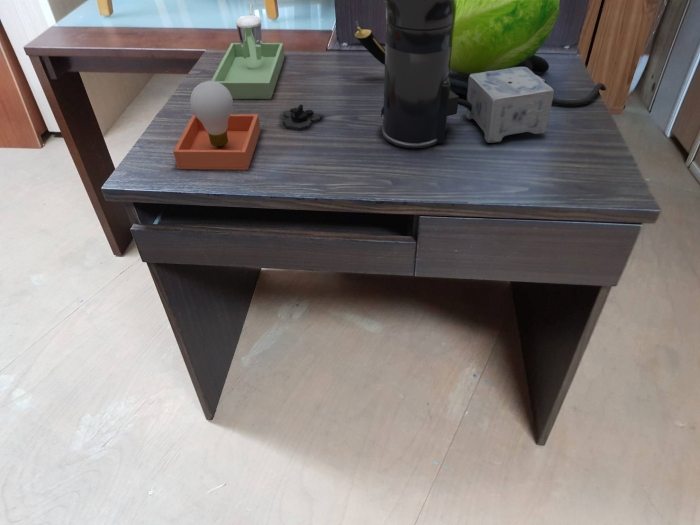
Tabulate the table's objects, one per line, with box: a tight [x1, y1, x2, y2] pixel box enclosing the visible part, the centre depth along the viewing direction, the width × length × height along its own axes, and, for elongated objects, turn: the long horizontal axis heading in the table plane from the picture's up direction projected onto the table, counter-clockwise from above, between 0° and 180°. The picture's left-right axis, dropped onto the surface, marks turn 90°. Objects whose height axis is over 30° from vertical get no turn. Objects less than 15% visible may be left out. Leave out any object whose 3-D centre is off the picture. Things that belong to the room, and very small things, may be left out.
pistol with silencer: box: [354, 26, 469, 96], centre depth 93 cm, size 4×25×11 cm, turn 53°
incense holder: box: [465, 67, 555, 144], centre depth 84 cm, size 10×8×10 cm
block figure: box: [282, 104, 322, 131], centre depth 88 cm, size 6×2×6 cm
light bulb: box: [189, 80, 234, 148], centre depth 79 cm, size 6×6×10 cm
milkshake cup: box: [235, 4, 263, 69], centre depth 102 cm, size 4×5×10 cm
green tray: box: [210, 42, 285, 100], centre depth 101 cm, size 10×18×3 cm, turn 178°
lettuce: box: [450, 0, 561, 76], centre depth 91 cm, size 15×23×16 cm
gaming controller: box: [513, 54, 550, 85], centre depth 97 cm, size 11×4×7 cm
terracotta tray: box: [173, 113, 261, 171], centre depth 82 cm, size 10×11×3 cm
